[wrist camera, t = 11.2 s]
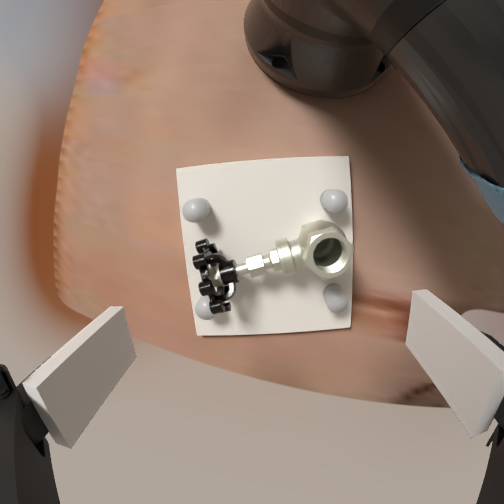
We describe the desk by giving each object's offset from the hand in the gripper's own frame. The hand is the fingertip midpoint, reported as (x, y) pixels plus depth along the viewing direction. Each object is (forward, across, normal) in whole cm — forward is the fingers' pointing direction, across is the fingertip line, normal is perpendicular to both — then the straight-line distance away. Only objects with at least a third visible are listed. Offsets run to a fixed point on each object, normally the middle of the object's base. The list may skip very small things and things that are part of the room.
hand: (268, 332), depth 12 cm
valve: (+16, +1, 0) cm, 16 cm away
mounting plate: (+17, 0, 0) cm, 17 cm away
